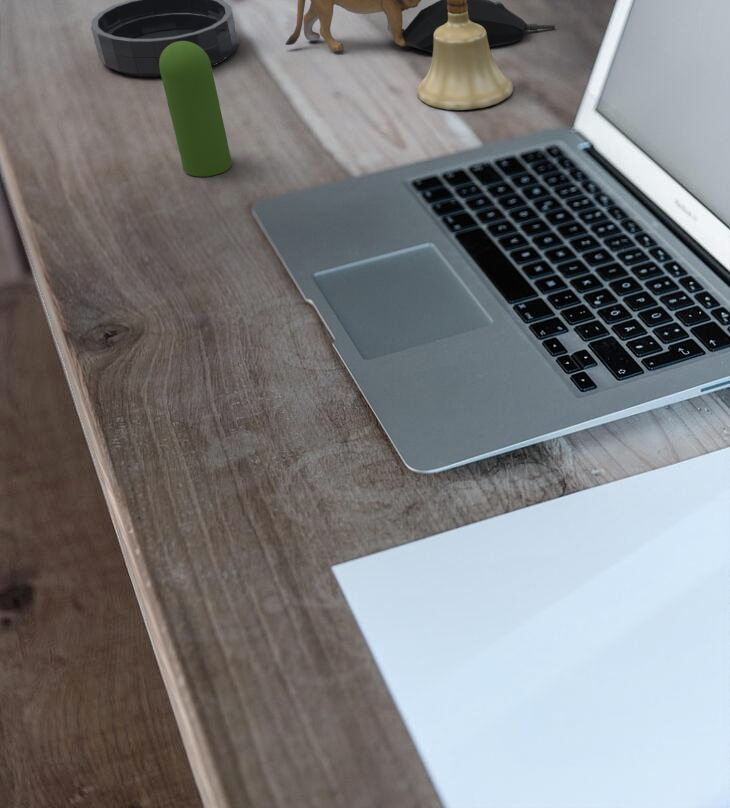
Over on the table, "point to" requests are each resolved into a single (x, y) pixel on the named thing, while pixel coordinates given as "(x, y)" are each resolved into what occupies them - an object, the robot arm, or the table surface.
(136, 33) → the pan
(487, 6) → the gaming mouse
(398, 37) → the lion figurine
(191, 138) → the pickle
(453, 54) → the hand bell
